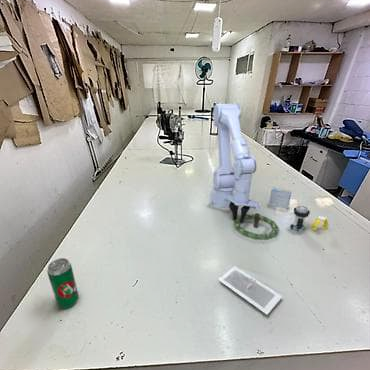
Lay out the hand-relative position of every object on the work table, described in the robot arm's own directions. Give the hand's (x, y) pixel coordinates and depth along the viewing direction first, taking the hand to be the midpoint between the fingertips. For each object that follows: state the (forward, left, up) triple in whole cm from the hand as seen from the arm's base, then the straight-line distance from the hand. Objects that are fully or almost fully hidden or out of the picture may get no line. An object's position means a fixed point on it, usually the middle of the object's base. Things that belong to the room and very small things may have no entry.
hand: (238, 220), depth 93 cm
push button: (+21, +8, -2) cm, 23 cm away
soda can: (-22, -59, -2) cm, 63 cm away
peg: (+7, 0, -1) cm, 7 cm away
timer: (+27, +12, 0) cm, 30 cm away
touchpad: (+15, -30, -2) cm, 34 cm away
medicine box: (+10, +23, -2) cm, 25 cm away
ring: (+7, 0, 0) cm, 7 cm away
